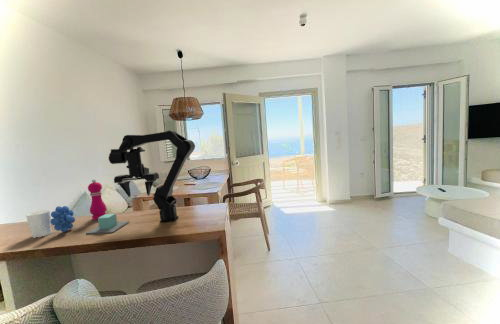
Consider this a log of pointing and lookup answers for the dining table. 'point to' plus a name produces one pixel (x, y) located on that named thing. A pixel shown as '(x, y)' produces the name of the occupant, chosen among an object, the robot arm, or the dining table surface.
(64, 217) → the grapes
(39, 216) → the white cup
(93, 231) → the gray mat
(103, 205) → the pepper mill
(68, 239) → the dining table surface
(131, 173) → the robot arm
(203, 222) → the dining table surface
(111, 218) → the teal block
